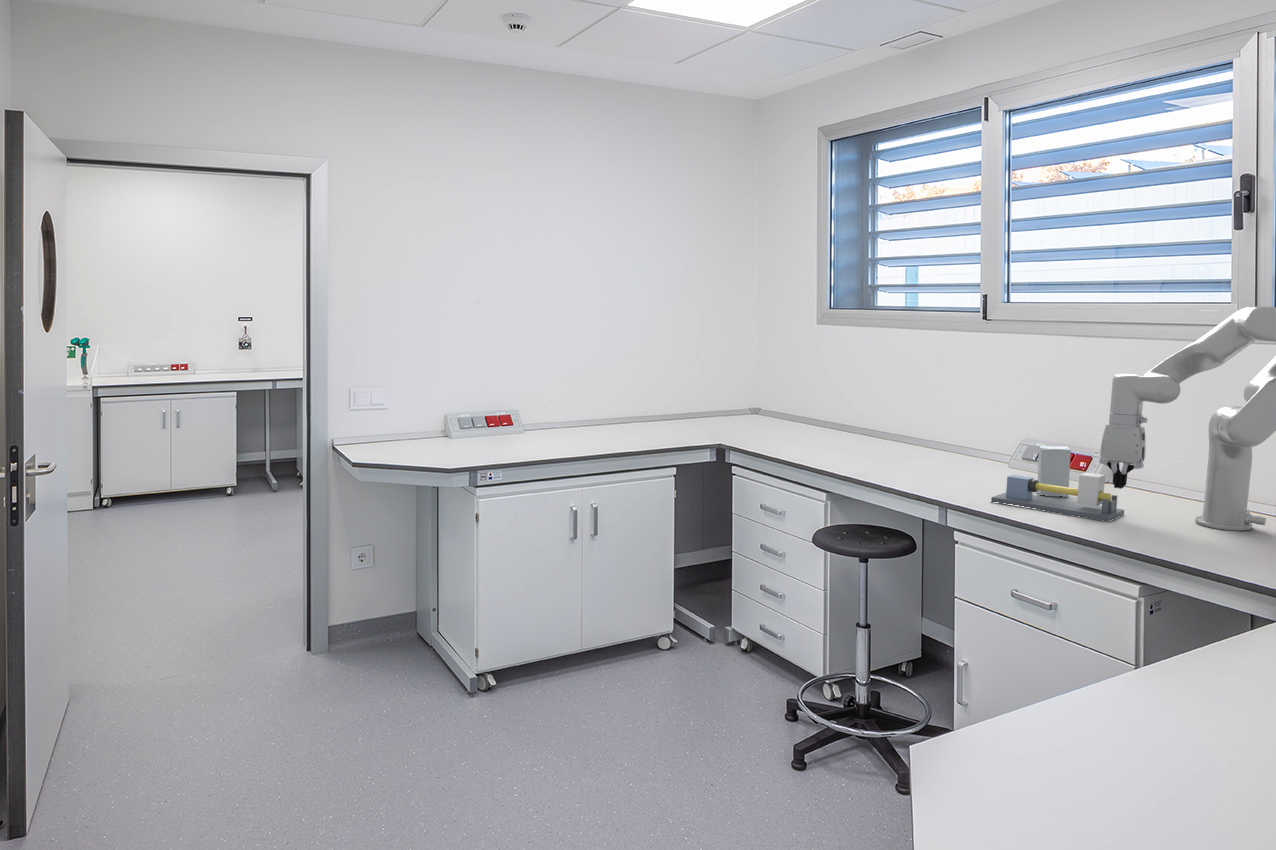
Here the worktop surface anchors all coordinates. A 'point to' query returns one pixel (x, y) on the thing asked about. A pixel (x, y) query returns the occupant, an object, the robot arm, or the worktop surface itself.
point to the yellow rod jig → (1024, 487)
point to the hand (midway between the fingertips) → (1119, 487)
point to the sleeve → (1090, 488)
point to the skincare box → (1054, 467)
